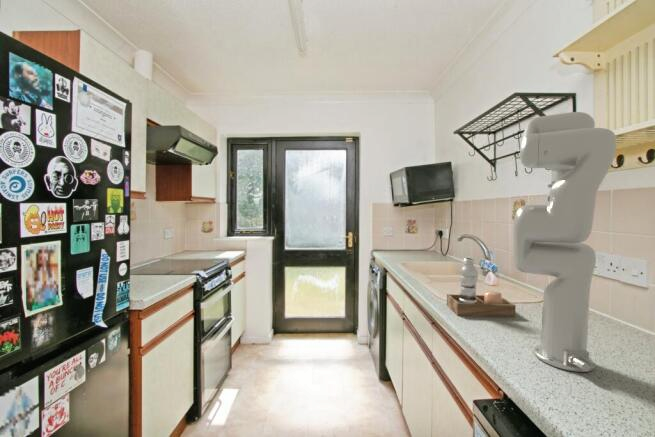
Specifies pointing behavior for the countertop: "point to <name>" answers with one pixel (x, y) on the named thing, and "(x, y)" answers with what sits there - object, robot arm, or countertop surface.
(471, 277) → the grey metal bottle
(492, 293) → the peach colored egg
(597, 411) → the countertop surface
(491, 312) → the crate
